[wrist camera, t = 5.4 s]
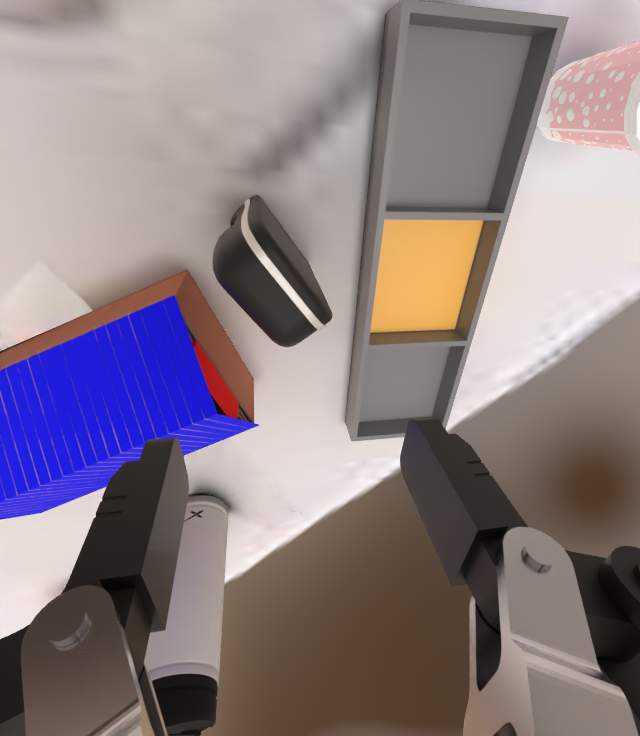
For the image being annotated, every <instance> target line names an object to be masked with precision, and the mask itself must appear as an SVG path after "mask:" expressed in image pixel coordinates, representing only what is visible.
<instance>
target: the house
mask: <svg viewBox="0 0 640 736" xmlns="http://www.w3.org/2000/svg"><path fill="white" fill-rule="evenodd" d="M256 426H259V425H258V424H254V384H253V377H252V376H251V374H250V372H249V371H248V369H247V367H246V366H245V364H244V362H243V361H242V359H241V357H240V356H239V354H238V352H237V351H236V349H235V348H234V346H233V344H232V343H231V341H230V339H229V338H228V336H227V334H226V333H225V331H224V329H223V328H222V326H221V324H220V323H219V321H218V319H217V318H216V316H215V314H214V313H213V311H212V309H211V308H210V306H209V305H208V303H207V301H206V300H205V298H204V296H203V295H202V293H201V291H200V290H199V288H198V286H197V285H196V283H195V281H194V280H193V278H192V276H191V275H190V273H189V271H188V270H186V271H184V272H181V273H179V274H177V275H175V276H172V277H170V278H168V279H165V280H163V281H161V282H158V283H156V284H154V285H152V286H149V287H147V288H145V289H142V290H140V291H138V292H135V293H133V294H131V295H129V296H126V297H124V298H122V299H119V300H117V301H115V302H113V303H110V304H108V305H106V306H103V307H101V308H99V309H96V310H94V311H92V312H90V313H87V314H85V315H83V316H80V317H78V318H76V319H74V320H71V321H69V322H67V323H64V324H62V325H60V326H57V327H55V328H53V329H51V330H48V331H46V332H44V333H41V334H39V335H37V336H35V337H32V338H30V339H28V340H25V341H23V342H21V343H18V344H16V345H14V346H12V347H9V348H7V349H5V350H2V351H0V519H6V518H13V517H19V516H25V515H31V514H37V513H42V512H44V511H47V510H49V509H52V508H54V507H57V506H59V505H62V504H64V503H67V502H69V501H72V500H74V499H77V498H79V497H82V496H84V495H87V494H89V493H92V492H94V491H97V490H99V489H102V488H104V487H107V485H108V482H109V480H110V478H111V477H112V476H113V475H114V474H115V473H116V472H117V470H118V469H119V468H120V467H121V466H122V465H123V464H124V463H125V462H128V461H139V459H140V456H141V454H142V451H143V448H144V445H145V443H146V441H147V440H149V439H162V438H174V437H177V438H178V439H179V441H180V444H181V449H182V453H183V456H184V455H186V454H189V453H191V452H194V451H196V450H199V449H201V448H204V447H206V446H209V445H211V444H214V443H216V442H219V441H221V440H224V439H226V438H229V437H231V436H234V435H236V434H239V433H241V432H244V431H246V430H249V429H251V428H254V427H256Z"/></svg>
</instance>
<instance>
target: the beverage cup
mask: <svg viewBox="0 0 640 736" xmlns="http://www.w3.org/2000/svg"><path fill="white" fill-rule="evenodd" d="M537 124H538V128H539V130H540V131H541V133H542V135H543V136H544V137H546V138H548V139H550V140H552V141H558V142H566V143H574V144H582V145H590V146H598V147H606V148H614V149H622V150H630V151H634V152H636V153H638V154H640V40H639V41H636V42H633V43H630V44H627V45H623V46H620V47H617V48H614V49H611V50H608V51H605V52H602V53H599V54H596V55H593V56H590V57H587V58H584V59H581V60H578V61H575V62H571V63H569V64H568V65H566V66H564V67H563V68H561V69H559V70H558V71H557V72H556V73H555V74H554V75H553V77H552V78H551V79H550V81H549V85H548V88H547V91H546V95H545V98H544V101H543V105H542V108H541V111H540V115H539V118H538V121H537Z"/></svg>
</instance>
